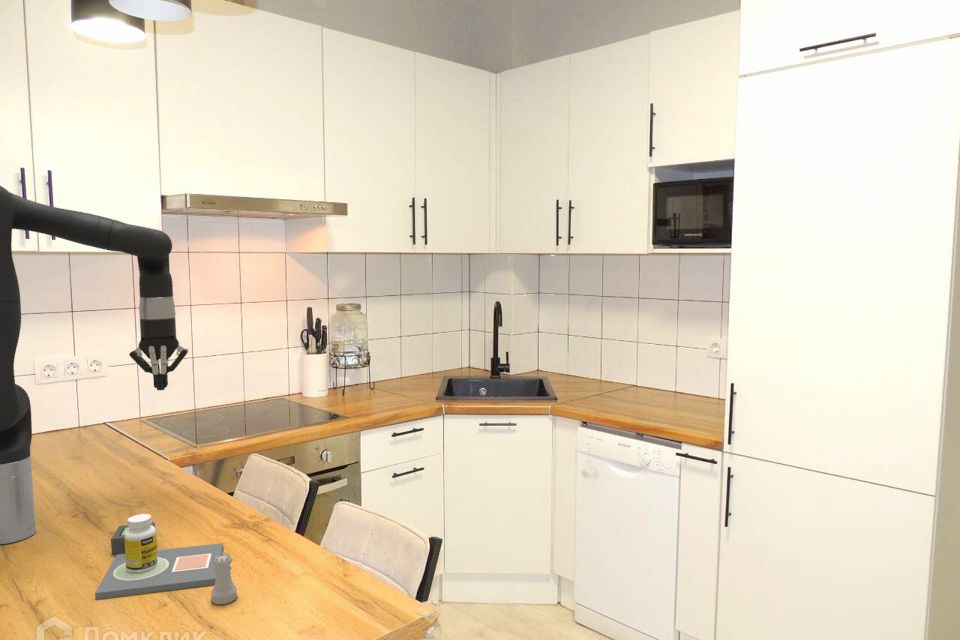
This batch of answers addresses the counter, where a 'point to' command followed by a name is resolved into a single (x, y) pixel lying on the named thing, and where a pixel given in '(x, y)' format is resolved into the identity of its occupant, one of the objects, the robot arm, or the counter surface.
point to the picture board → (163, 572)
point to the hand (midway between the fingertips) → (161, 389)
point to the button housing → (119, 541)
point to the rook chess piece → (223, 581)
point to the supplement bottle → (140, 544)
